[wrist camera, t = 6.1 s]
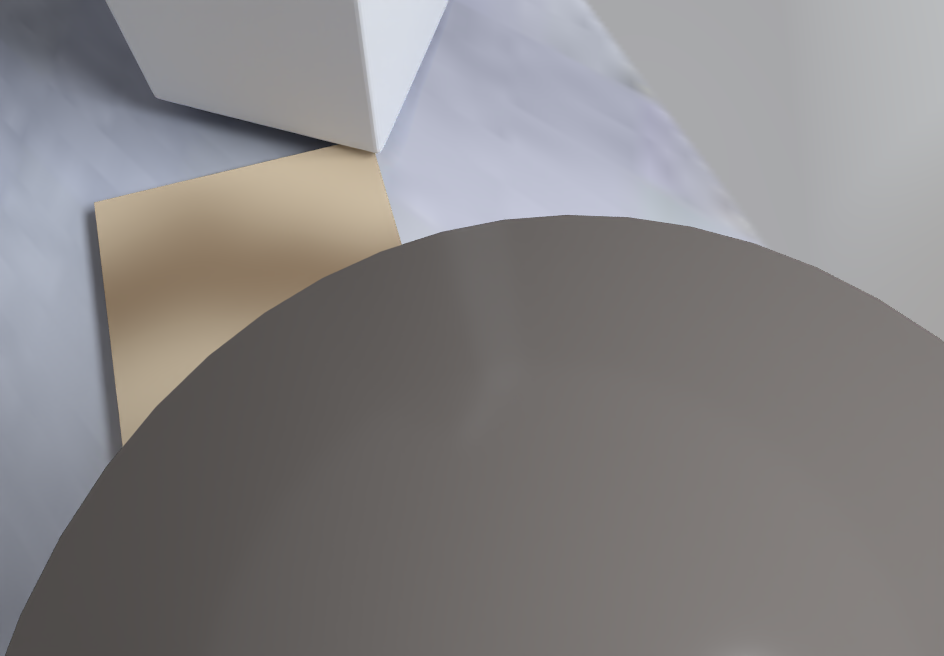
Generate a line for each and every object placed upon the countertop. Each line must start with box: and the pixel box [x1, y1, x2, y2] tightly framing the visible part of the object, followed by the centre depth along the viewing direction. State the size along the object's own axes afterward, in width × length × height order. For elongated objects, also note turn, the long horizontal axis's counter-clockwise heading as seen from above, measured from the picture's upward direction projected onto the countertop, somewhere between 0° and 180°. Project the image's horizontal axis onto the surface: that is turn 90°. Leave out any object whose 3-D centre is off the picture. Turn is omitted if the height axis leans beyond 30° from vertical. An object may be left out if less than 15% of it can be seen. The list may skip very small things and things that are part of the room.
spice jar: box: [5, 215, 944, 656], centre depth 8 cm, size 5×5×12 cm
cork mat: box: [94, 144, 402, 446], centre depth 19 cm, size 8×8×1 cm
